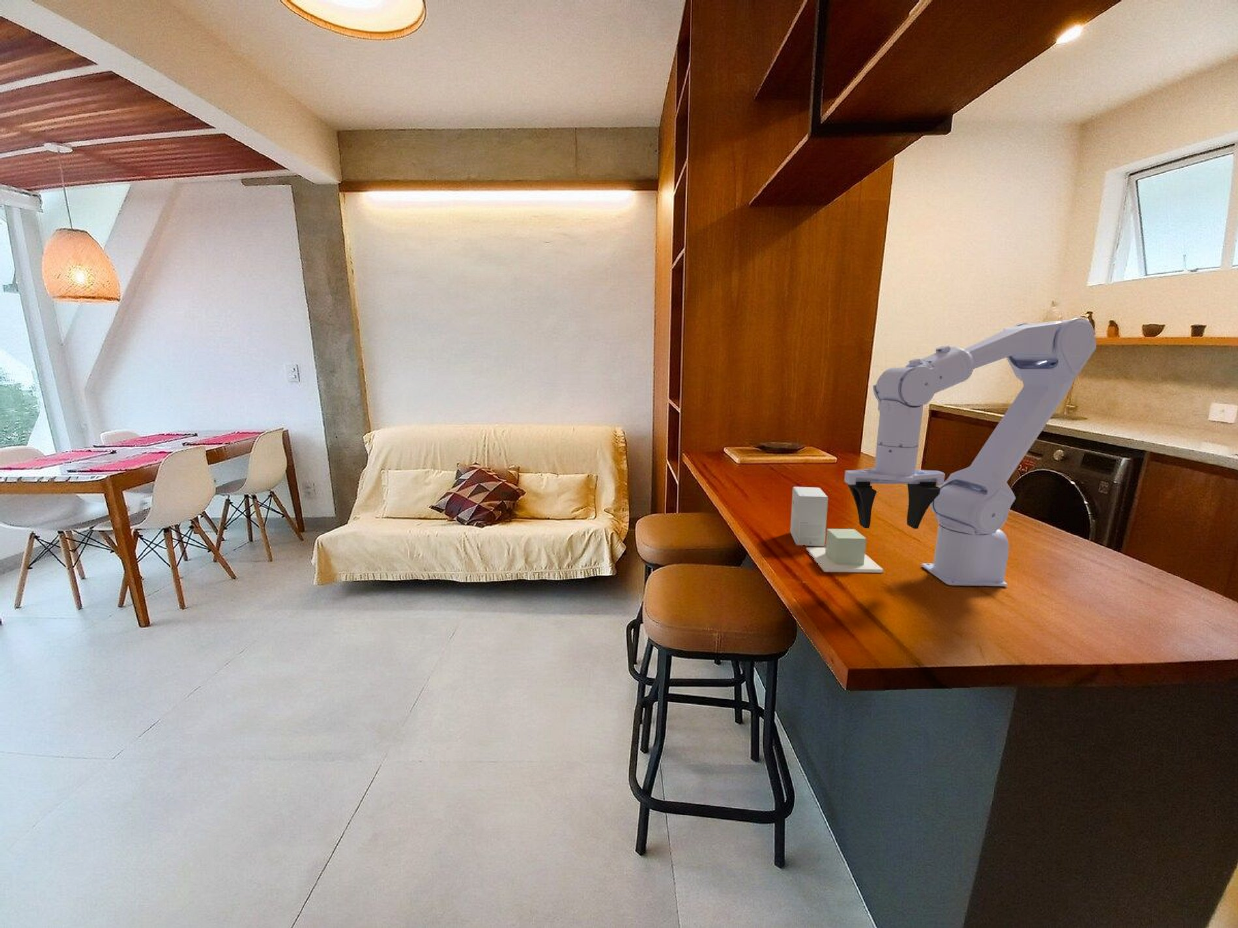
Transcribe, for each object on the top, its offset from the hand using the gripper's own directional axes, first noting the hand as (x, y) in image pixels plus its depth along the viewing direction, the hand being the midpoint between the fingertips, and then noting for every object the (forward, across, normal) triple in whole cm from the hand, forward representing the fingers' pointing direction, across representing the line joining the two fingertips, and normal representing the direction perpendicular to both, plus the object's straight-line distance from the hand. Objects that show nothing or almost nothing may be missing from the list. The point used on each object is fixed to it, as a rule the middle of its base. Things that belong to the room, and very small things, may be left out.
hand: (888, 526), depth 77 cm
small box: (+10, -6, +20) cm, 23 cm away
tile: (+10, -3, +9) cm, 14 cm away
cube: (+9, -3, +8) cm, 13 cm away
